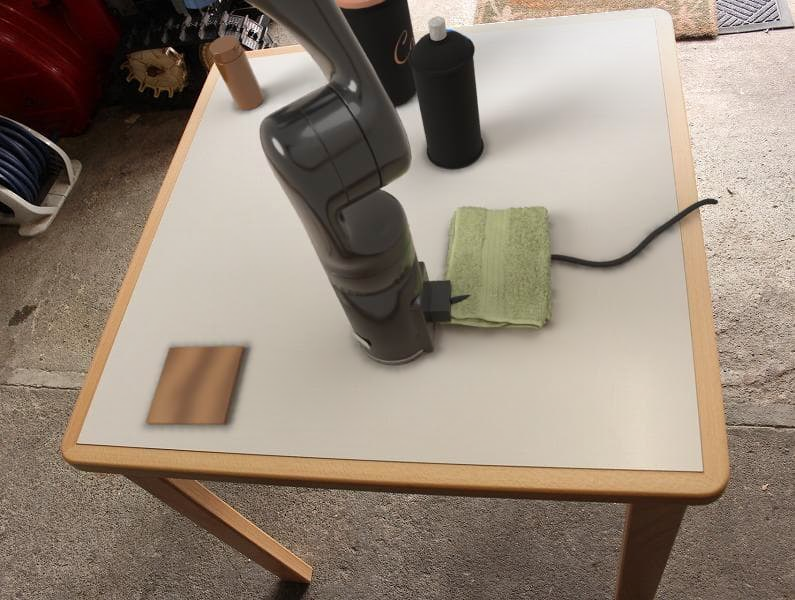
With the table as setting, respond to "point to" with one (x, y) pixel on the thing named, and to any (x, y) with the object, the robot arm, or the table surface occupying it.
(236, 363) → the mat
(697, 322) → the table surface
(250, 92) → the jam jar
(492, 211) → the washcloth
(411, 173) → the table surface
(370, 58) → the coffee jar
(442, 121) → the aerosol can
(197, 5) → the jar lid
